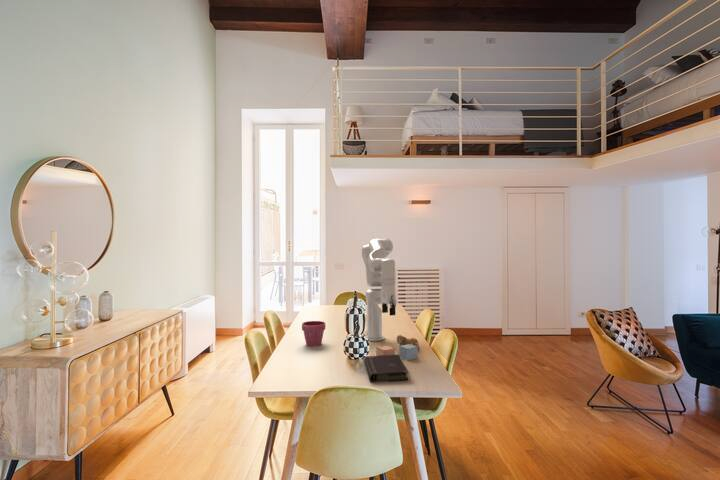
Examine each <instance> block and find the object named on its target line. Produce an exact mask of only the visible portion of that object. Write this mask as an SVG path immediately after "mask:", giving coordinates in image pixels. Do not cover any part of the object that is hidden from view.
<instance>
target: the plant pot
mask: <svg viewBox="0 0 720 480" xmlns="http://www.w3.org/2000/svg"><path fill="white" fill-rule="evenodd" d="M301 330H302V331H303V335H304V339H305V343H306V346H310V347H317V346H321V345H322V344H323V343H322V342H323V337H324V332H325V330H326V322H325V321H321V320H311V321H309V320H308V321H304V322H302V324H301Z"/></svg>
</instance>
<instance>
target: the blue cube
mask: <svg viewBox="0 0 720 480" xmlns="http://www.w3.org/2000/svg"><path fill="white" fill-rule="evenodd" d="M417 349H418V348H417V347H416V346H415V345H414V346H413V345H412V344H406V345H401V346H400V345H399V346H398V355H399V356H400V358H401V359H403V360H405V361H411V360H415V359H418V354H419V353H418V350H417Z"/></svg>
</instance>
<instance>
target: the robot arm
mask: <svg viewBox="0 0 720 480" xmlns="http://www.w3.org/2000/svg"><path fill="white" fill-rule="evenodd" d="M392 241H393V240H391V239H390V238H375V239H371V240H370V241H369V244H367V245H366V244H365V245H363V246H362V247H361V258H362V260H363V263H364V266H365V276H366V284H367V286H368V287H370V288H369V289H368V290H366V291H365V302H366V330H365V332H364V333H365V334H366V335H365V336H364V338H365V337H367V338H368V339H369V340H368V341H371V342H378V341H383V340H385V336H384V335H383V314H387V313H388V312H389V316H396V309H397V308H396V306H397V298H396V261H395V259H394V258H393V259H392V258H388V257H390V254H391V253H392V251H393V248H394V246H393V245H394V243H393V242H392ZM379 305H381V307H380V306H379ZM388 305H389V306H388Z"/></svg>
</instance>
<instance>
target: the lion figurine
mask: <svg viewBox="0 0 720 480" xmlns="http://www.w3.org/2000/svg"><path fill="white" fill-rule="evenodd" d="M396 343H397V344H399V346H401V345H406V344H411V345H413V346H416V347H417V351H419V350H420V349H421V347H420V345H419V341H418V339H417V338H416V337H411V338H407V337H405V336H403V335H402V334H398V335H397V336H396Z"/></svg>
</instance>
